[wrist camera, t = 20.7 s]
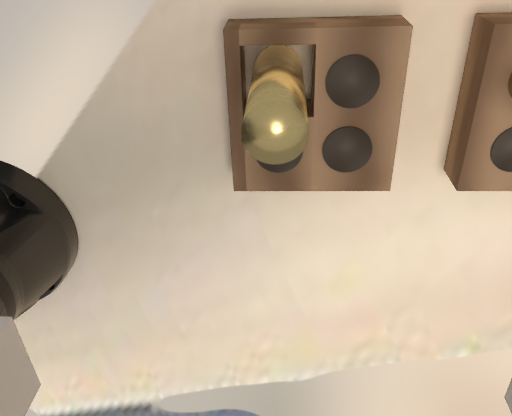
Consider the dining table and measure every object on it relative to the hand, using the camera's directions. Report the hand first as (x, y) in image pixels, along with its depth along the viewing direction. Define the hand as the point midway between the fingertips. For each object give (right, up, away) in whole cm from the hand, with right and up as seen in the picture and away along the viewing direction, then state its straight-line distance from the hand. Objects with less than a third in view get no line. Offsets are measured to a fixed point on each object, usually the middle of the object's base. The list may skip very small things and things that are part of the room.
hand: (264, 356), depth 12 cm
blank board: (+4, +12, +24) cm, 27 cm away
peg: (+1, +14, +23) cm, 27 cm away
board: (+21, +12, +23) cm, 33 cm away
